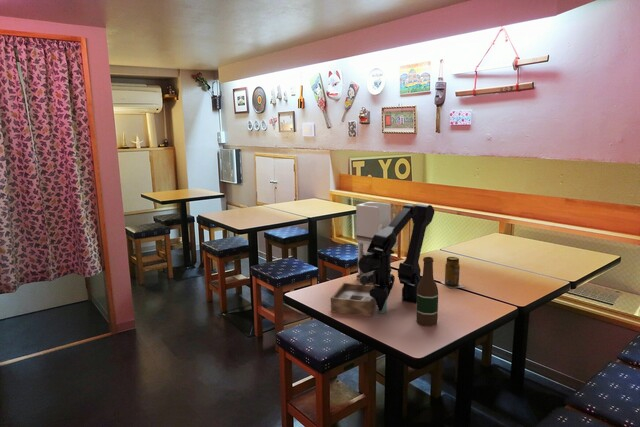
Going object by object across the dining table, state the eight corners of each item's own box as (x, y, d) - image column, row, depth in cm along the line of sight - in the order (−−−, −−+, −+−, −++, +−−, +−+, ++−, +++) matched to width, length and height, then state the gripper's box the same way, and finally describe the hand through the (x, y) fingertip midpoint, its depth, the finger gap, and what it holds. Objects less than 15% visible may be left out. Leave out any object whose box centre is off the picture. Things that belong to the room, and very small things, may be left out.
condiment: (455, 280, 202) (456, 255, 200) (464, 287, 194) (466, 260, 192) (440, 282, 200) (441, 256, 198) (449, 288, 192) (450, 262, 190)
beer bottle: (433, 328, 155) (435, 262, 151) (412, 323, 159) (413, 259, 155) (440, 320, 162) (442, 256, 157) (419, 315, 166) (421, 253, 161)
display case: (356, 279, 206) (356, 204, 200) (369, 273, 214) (369, 201, 207) (377, 284, 199) (377, 207, 192) (390, 278, 207) (390, 203, 200)
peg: (387, 310, 171) (387, 290, 170) (385, 313, 168) (386, 293, 167) (379, 309, 172) (379, 289, 171) (377, 312, 170) (377, 292, 168)
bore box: (380, 299, 182) (380, 286, 181) (370, 316, 166) (370, 302, 165) (343, 295, 187) (343, 282, 186) (330, 311, 171) (330, 298, 170)
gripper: (367, 258, 178) (367, 295, 181) (355, 272, 161) (355, 313, 164) (395, 260, 175) (394, 298, 178) (386, 275, 157) (386, 317, 160)
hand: (382, 306), depth 170 cm, fingers open, 9 cm apart
